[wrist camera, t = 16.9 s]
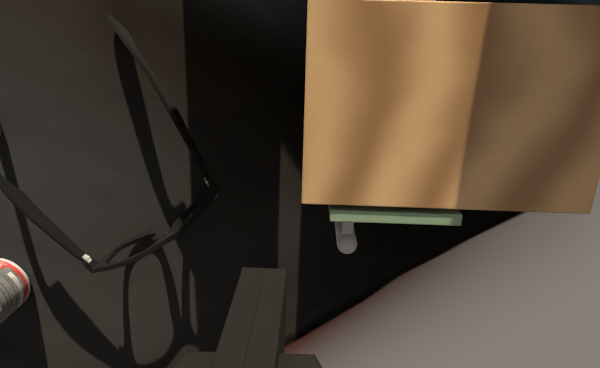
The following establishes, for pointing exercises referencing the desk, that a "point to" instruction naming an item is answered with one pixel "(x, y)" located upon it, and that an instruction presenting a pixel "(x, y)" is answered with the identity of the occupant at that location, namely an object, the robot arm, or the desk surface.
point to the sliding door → (384, 219)
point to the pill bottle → (12, 288)
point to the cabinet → (452, 105)
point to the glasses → (161, 239)
